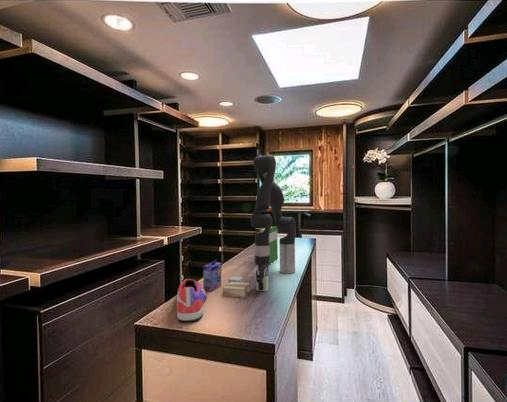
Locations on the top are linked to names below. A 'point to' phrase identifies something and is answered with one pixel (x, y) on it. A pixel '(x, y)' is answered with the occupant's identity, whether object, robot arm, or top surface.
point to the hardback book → (272, 243)
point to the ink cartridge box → (212, 276)
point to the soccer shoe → (190, 300)
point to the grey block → (236, 279)
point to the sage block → (265, 284)
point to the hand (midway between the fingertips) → (262, 288)
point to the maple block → (236, 289)
